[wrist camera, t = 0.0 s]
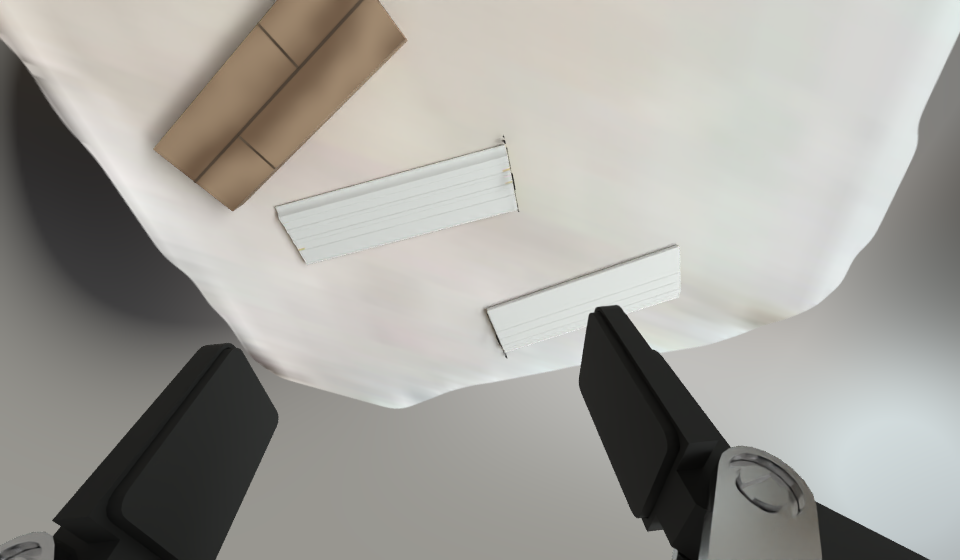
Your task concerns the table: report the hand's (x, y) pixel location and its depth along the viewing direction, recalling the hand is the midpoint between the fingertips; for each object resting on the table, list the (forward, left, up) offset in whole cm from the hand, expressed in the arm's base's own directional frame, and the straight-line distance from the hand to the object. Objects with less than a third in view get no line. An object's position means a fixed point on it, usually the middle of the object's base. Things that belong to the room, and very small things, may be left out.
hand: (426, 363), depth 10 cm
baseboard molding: (+35, +2, -38) cm, 52 cm away
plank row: (-13, -11, -37) cm, 41 cm away
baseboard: (+3, -10, -38) cm, 39 cm away
